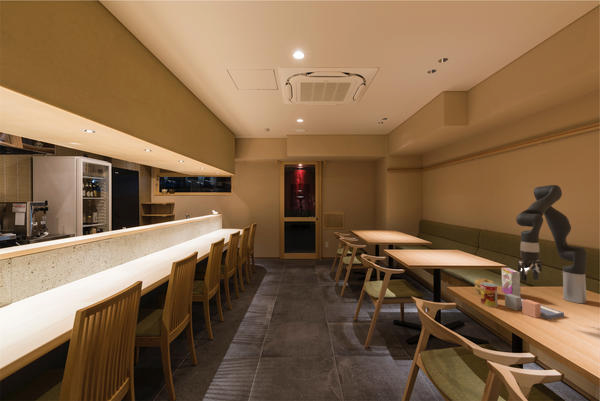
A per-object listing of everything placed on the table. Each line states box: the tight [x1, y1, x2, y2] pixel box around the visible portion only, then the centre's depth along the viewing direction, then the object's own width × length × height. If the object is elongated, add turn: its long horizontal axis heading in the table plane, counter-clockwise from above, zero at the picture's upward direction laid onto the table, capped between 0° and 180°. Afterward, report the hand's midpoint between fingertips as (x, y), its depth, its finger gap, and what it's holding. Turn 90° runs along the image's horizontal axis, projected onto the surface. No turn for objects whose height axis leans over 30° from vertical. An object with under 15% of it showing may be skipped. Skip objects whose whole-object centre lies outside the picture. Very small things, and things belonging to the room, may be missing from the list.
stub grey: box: [504, 293, 522, 311], centre depth 140 cm, size 4×6×7 cm, turn 15°
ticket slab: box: [521, 297, 565, 321], centre depth 138 cm, size 12×20×2 cm, turn 15°
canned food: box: [480, 282, 498, 308], centre depth 146 cm, size 8×8×12 cm
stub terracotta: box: [521, 299, 542, 319], centre depth 132 cm, size 4×6×7 cm, turn 15°
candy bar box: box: [501, 267, 522, 298], centre depth 160 cm, size 11×5×16 cm, turn 168°
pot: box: [474, 278, 496, 294], centre depth 162 cm, size 12×12×10 cm
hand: (530, 280), depth 132 cm, fingers open, 8 cm apart
